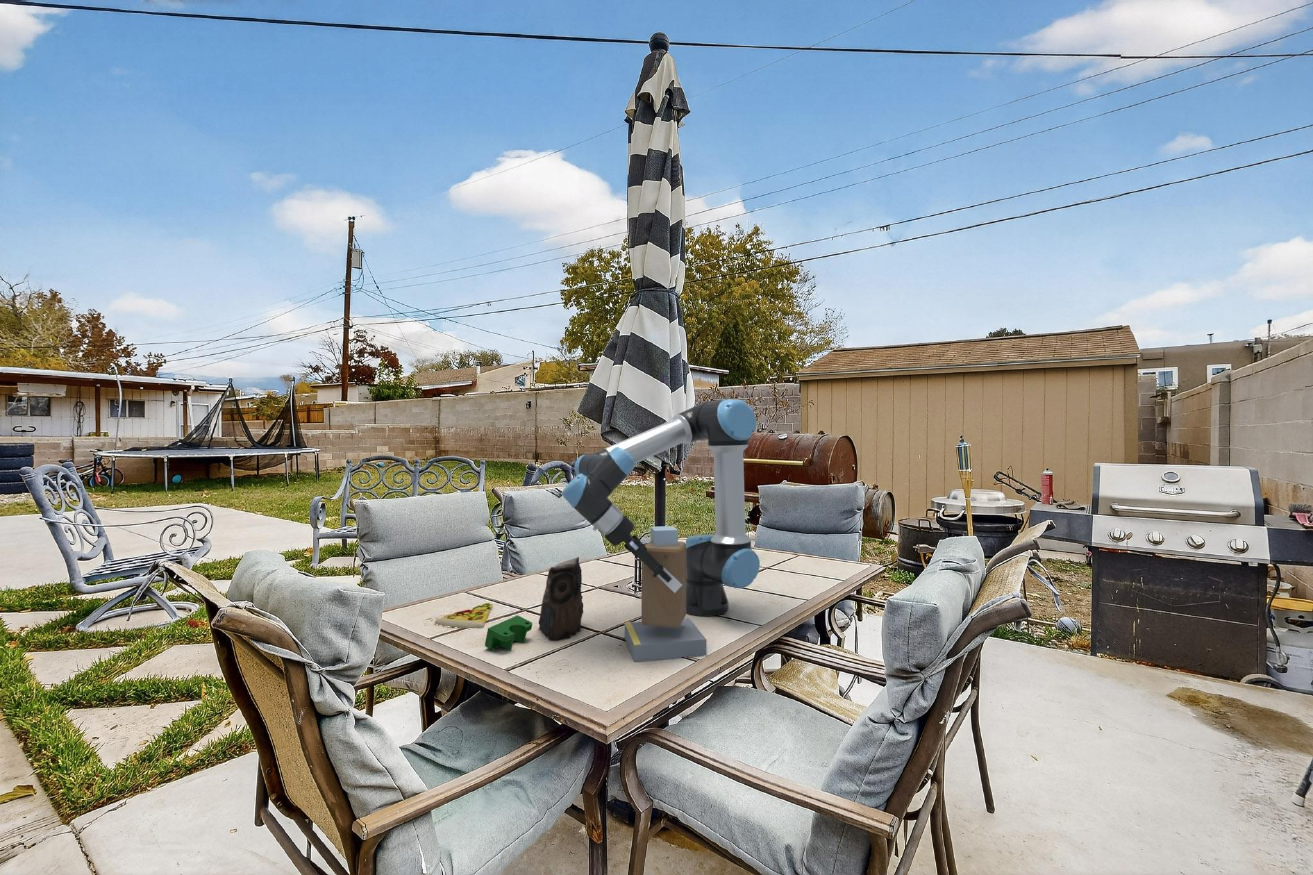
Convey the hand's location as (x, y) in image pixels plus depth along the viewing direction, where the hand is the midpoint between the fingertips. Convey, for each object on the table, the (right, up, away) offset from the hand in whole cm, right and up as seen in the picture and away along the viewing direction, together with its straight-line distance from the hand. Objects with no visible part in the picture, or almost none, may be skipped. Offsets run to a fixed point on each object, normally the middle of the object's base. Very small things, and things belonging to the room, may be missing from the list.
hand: (672, 581), depth 140 cm
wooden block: (-2, -10, 0) cm, 10 cm away
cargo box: (-2, +10, 0) cm, 10 cm away
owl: (-31, -17, +11) cm, 37 cm away
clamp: (-42, -17, +1) cm, 46 cm away
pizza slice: (-59, -18, +24) cm, 66 cm away
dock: (-2, -17, 0) cm, 17 cm away
